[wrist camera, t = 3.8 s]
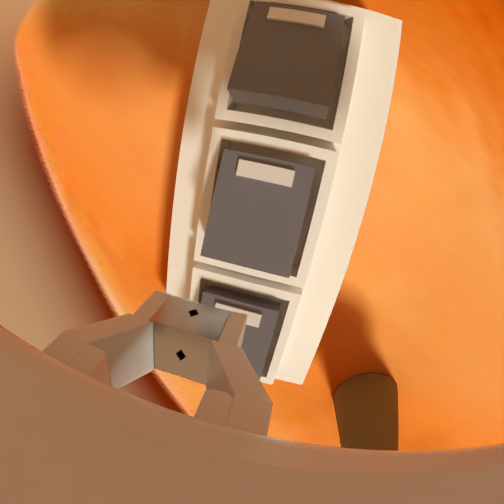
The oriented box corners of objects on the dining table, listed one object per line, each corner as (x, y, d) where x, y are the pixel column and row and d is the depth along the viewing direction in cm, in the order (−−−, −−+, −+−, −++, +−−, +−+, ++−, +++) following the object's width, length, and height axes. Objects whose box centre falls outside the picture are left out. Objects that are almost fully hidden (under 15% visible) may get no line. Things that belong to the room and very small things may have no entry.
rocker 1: (341, 34, 11) (345, 14, 9) (325, 119, 12) (330, 105, 10) (258, 20, 12) (253, -1, 10) (234, 102, 12) (226, 86, 11)
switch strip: (393, -26, 12) (412, -65, 7) (305, 349, 23) (300, 400, 18) (248, -50, 13) (228, -92, 8) (184, 316, 24) (155, 359, 19)
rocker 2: (313, 173, 14) (315, 167, 12) (289, 271, 15) (289, 279, 13) (231, 155, 14) (223, 148, 13) (209, 251, 15) (199, 256, 13)
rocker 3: (280, 303, 17) (278, 312, 15) (260, 375, 17) (256, 390, 16) (211, 284, 17) (202, 292, 15) (197, 357, 18) (188, 370, 16)
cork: (357, 423, 26) (359, 519, 15) (319, 396, 25) (311, 503, 15) (409, 393, 23) (428, 494, 13) (374, 361, 22) (389, 477, 12)
